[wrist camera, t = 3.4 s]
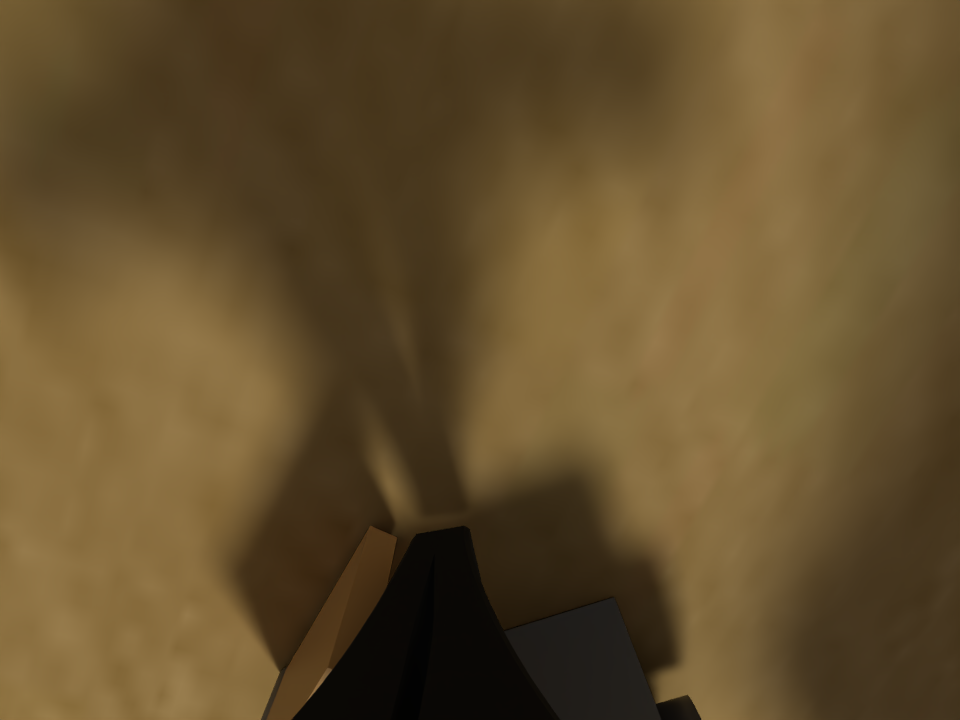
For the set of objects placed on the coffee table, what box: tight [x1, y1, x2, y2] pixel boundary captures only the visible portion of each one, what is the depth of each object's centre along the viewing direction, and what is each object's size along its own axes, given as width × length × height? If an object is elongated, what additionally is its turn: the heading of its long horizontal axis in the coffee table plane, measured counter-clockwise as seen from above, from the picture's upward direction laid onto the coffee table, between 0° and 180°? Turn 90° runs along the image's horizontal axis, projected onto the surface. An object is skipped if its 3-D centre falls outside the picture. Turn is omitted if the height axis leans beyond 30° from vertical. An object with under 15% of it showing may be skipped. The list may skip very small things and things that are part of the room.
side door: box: [261, 526, 397, 720], centre depth 11 cm, size 7×1×4 cm, turn 150°
